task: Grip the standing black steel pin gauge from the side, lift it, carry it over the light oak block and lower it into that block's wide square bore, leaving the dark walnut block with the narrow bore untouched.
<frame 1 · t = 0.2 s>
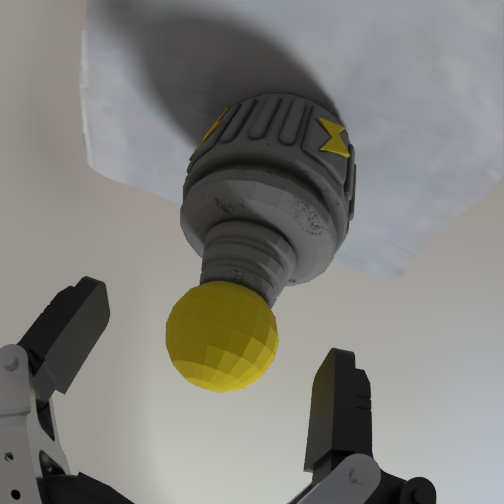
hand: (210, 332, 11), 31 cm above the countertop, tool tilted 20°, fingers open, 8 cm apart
decorative lamp: (285, 151, 40), on the countertop
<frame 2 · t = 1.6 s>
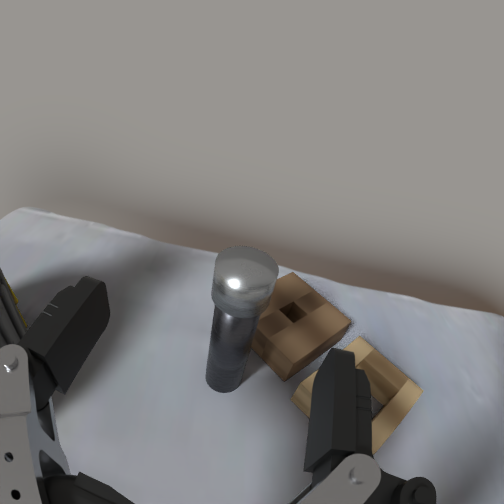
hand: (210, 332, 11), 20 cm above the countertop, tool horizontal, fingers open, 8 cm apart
walnut block: (285, 331, 38), on the countertop
pin gauge: (223, 377, 31), on the countertop
oak block: (353, 404, 31), on the countertop
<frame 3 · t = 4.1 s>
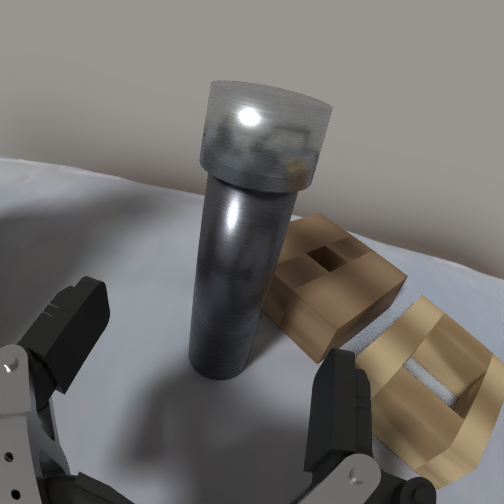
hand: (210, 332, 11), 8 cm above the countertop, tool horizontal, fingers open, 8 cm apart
walnut block: (313, 292, 26), on the countertop
pin gauge: (217, 355, 19), on the countertop
oak block: (421, 398, 18), on the countertop
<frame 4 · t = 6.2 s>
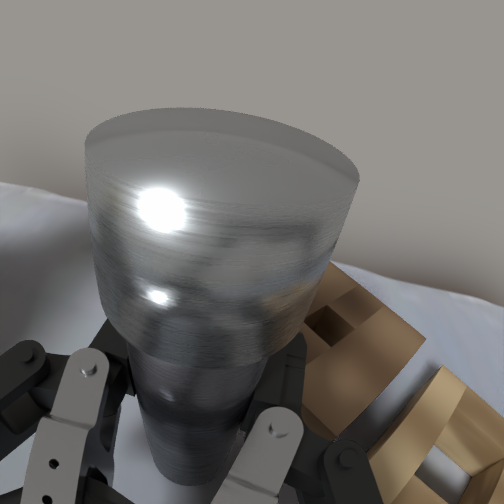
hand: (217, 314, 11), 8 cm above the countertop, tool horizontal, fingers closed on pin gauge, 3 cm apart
walnut block: (310, 359, 20), on the countertop
pin gauge: (188, 454, 14), on the countertop, touching gripper
oak block: (430, 486, 13), on the countertop
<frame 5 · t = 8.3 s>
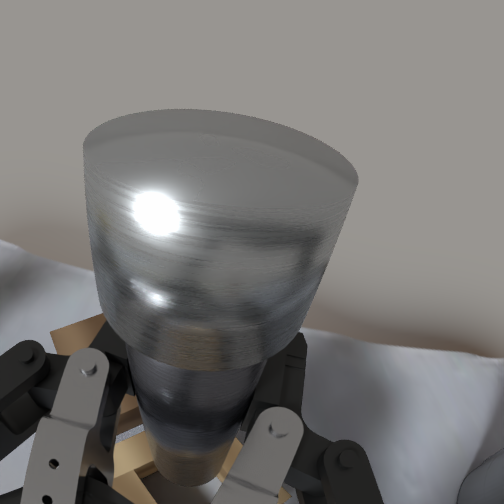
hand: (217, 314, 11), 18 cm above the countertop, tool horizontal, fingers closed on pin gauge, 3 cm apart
walnut block: (123, 376, 26), on the countertop
pin gauge: (188, 454, 14), point 10 cm above the countertop, touching gripper
oak block: (187, 491, 19), on the countertop
when the fingers open (10 cm above the countertop, at t = 10.6 s): pin gauge drops 2 cm, resting in oak block.
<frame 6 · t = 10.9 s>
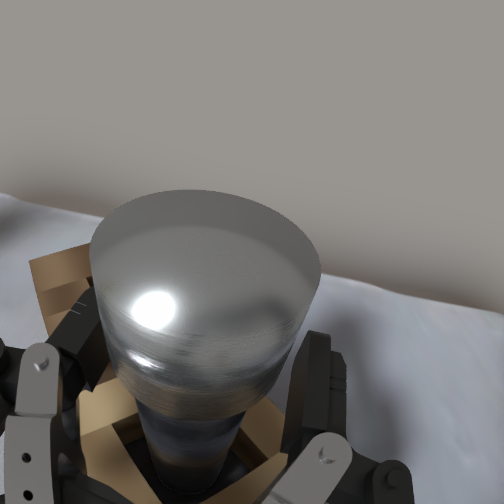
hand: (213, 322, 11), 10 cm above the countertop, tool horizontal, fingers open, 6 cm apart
walnut block: (112, 318, 22), on the countertop
pin gauge: (186, 465, 15), resting in oak block
oak block: (187, 464, 15), on the countertop
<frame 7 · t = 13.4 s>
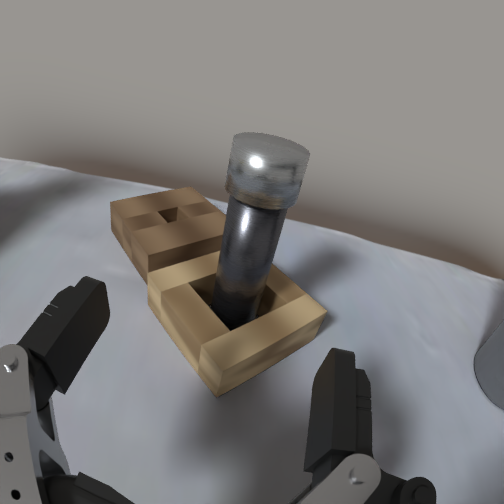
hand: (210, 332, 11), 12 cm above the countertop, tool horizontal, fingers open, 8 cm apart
walnut block: (170, 243, 33), on the countertop
pin gauge: (230, 325, 26), resting in oak block
oak block: (230, 324, 26), on the countertop
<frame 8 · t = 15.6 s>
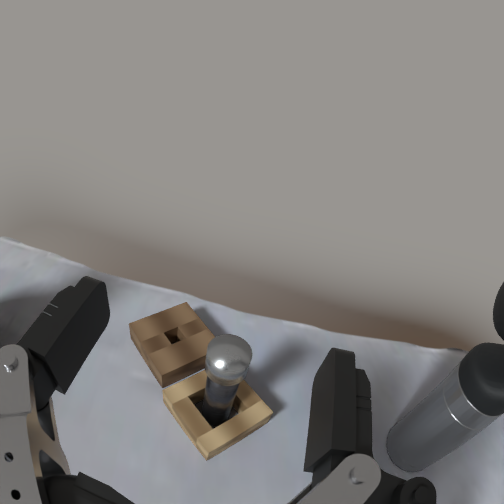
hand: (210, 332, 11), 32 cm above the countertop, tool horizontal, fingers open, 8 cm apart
walnut block: (174, 349, 46), on the countertop
pin gauge: (215, 414, 39), resting in oak block
oak block: (215, 413, 39), on the countertop
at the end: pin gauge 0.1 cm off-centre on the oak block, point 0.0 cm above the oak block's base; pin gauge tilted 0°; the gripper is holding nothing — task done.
